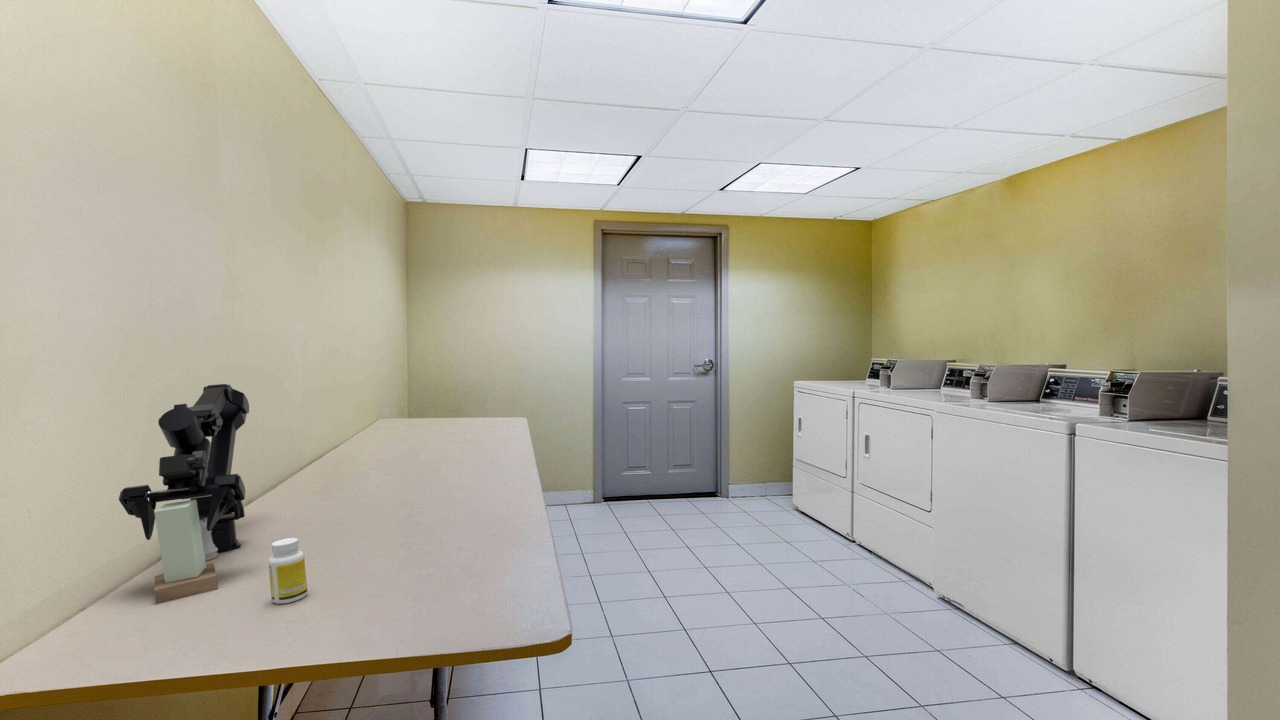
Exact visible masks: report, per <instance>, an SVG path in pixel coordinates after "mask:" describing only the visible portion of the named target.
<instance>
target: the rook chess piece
mask: <svg viewBox="0 0 1280 720" xmlns="http://www.w3.org/2000/svg"><path fill="white" fill-rule="evenodd" d="M200 527H201V534H202V541H203V548H204V554H205V561H206V562H207V561H211V560H214V559H216V558H217V557H218V556H219V553H220V552H217V551H218V548H217V547H215V544H214V543H213V541H212V537H211V532H212V531H208V530H207V519H205V521H204V522H203V520H200Z"/></svg>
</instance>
